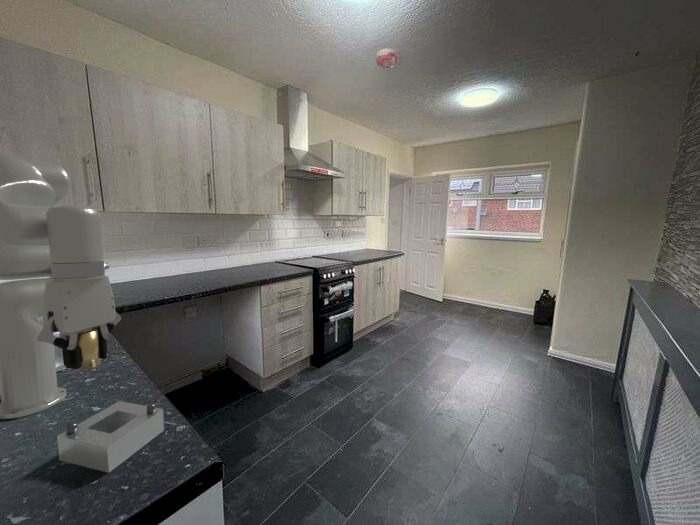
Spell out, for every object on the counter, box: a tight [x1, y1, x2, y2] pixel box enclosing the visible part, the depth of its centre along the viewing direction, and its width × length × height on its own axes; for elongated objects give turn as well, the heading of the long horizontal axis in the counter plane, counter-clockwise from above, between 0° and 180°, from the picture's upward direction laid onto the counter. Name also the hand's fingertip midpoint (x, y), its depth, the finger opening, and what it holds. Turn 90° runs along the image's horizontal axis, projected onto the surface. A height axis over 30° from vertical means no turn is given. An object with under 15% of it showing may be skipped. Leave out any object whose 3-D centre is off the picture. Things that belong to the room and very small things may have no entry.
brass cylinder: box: [73, 328, 101, 371], centre depth 58 cm, size 4×4×7 cm
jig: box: [56, 400, 165, 474], centre depth 60 cm, size 12×12×7 cm
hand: (86, 361), depth 58 cm, fingers closed on brass cylinder, 4 cm apart
